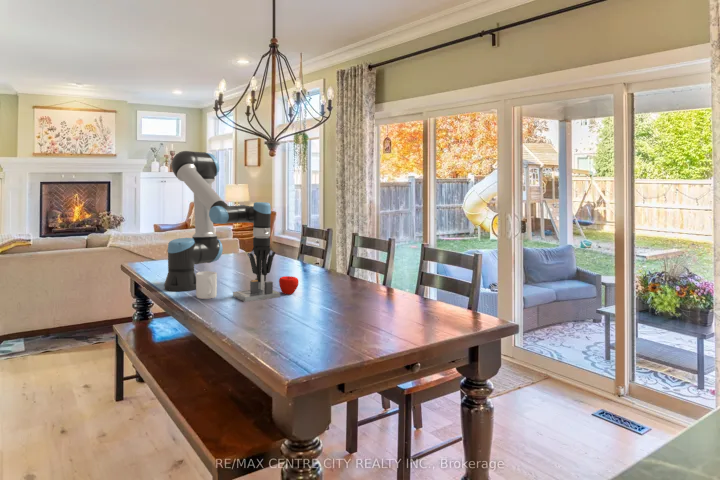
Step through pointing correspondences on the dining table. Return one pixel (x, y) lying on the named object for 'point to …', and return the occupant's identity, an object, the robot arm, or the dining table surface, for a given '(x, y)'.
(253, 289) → the block
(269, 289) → the breaker
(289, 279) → the apple
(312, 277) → the dining table surface
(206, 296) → the mug
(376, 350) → the dining table surface
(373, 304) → the dining table surface
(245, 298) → the panel
